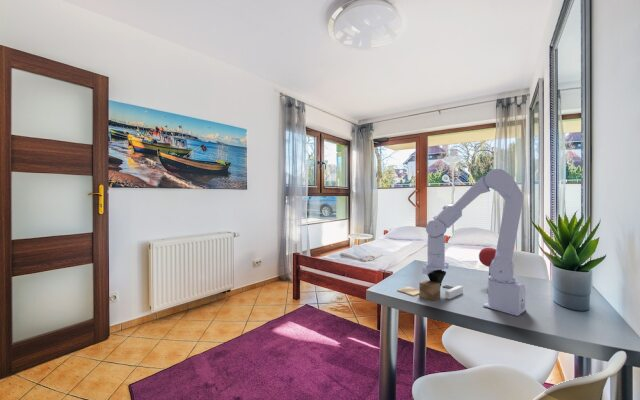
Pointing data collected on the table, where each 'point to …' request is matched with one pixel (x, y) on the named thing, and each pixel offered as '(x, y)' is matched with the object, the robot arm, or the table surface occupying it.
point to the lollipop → (487, 256)
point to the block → (429, 290)
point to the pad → (409, 291)
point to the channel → (453, 292)
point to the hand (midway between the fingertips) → (435, 290)
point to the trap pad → (448, 287)
